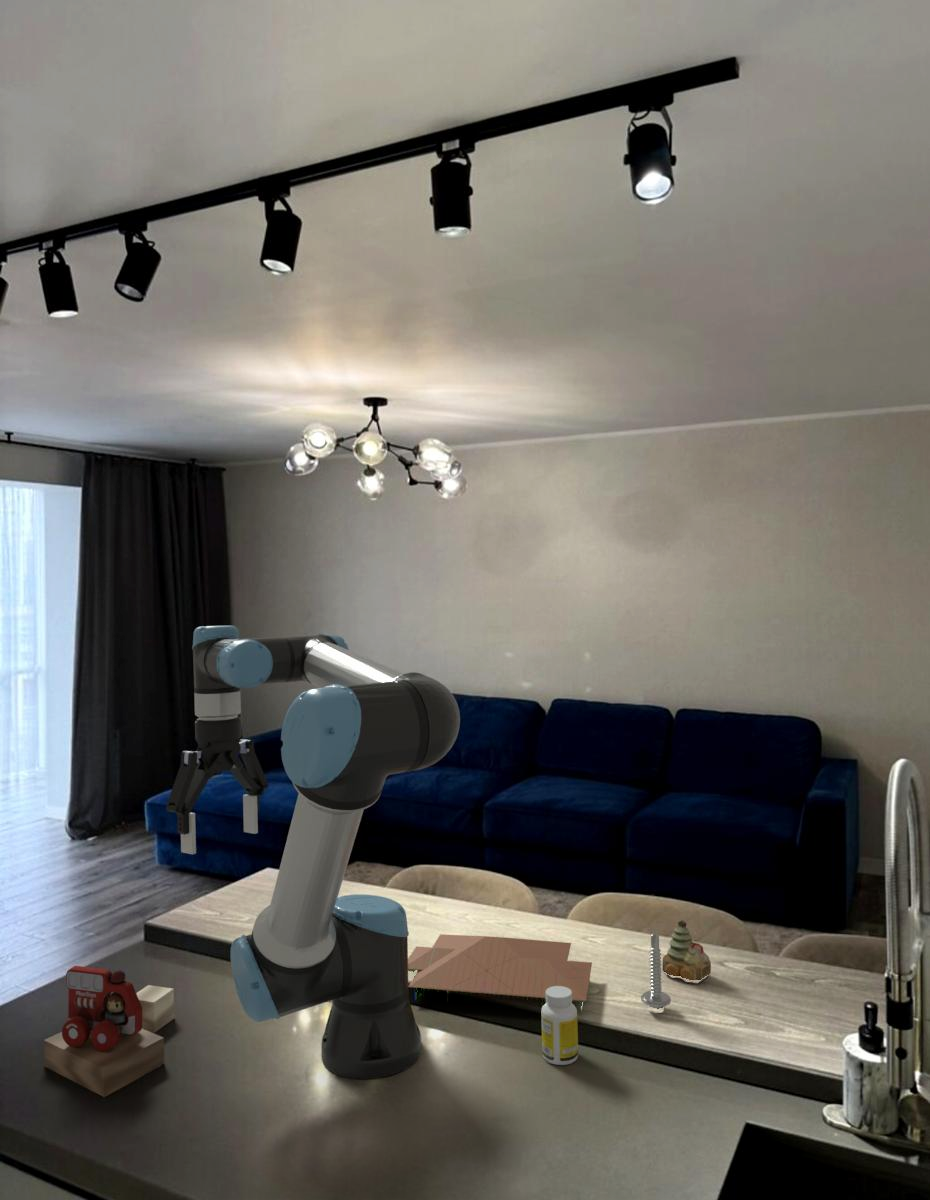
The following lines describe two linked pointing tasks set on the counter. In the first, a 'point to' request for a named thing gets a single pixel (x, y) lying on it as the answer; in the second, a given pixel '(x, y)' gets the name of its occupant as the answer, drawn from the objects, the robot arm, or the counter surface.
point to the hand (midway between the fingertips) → (220, 842)
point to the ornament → (686, 956)
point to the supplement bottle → (559, 1027)
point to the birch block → (156, 1007)
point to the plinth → (105, 1060)
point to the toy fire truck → (100, 1008)
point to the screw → (655, 978)
